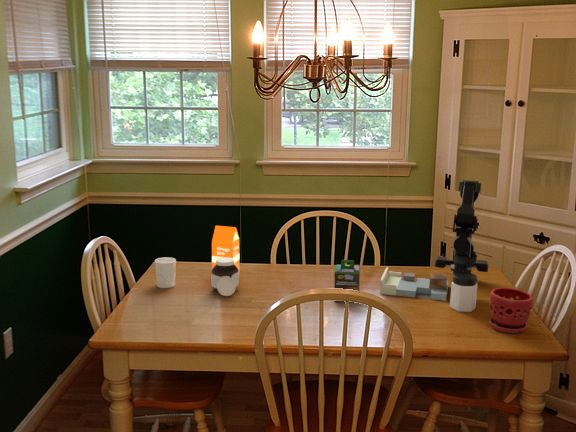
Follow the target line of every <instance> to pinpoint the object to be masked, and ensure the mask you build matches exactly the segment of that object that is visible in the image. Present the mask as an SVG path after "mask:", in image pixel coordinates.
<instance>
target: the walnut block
mask: <svg viewBox="0 0 576 432" xmlns="http://www.w3.org/2000/svg"><path fill="white" fill-rule="evenodd" d="M429 279H430V283H429V288H431V289H440V290H446V285H447V281H448V274H444V273H443V274H442V273H434V272H430V276H429Z"/></svg>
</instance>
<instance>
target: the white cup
mask: <svg viewBox="0 0 576 432" xmlns="http://www.w3.org/2000/svg"><path fill="white" fill-rule="evenodd" d="M154 268H155V269H154V270H155V279H156V286H157V287H158V288H159V289H171V288H174V287H175V286H176V273H177V269H176V268H177V259H176V258H174V257H171V256H170V257H169V256H168V257H167V256H166V257H158V258H156V259H155V260H154Z"/></svg>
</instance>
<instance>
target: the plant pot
mask: <svg viewBox="0 0 576 432" xmlns="http://www.w3.org/2000/svg"><path fill="white" fill-rule="evenodd" d="M533 302H534V296H533V295H532V294H530V293H529V292H527V291H524V290H521V289H517V288H511V287H497V288H493V289H492V290H491V292H490V296H489V310H490V311H489V312H490V315H491V317H490V318H489V324H490V326H491V327H492V328H494V329H495V330H497V331H499V332H504V333H507V334H516V333H517V334H518V333H522V332H524V331H525V330H526V329H527V324H526V322H527V321H528V319H529V317H530V315H531V311H532V308H533Z"/></svg>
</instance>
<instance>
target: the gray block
mask: <svg viewBox="0 0 576 432" xmlns="http://www.w3.org/2000/svg"><path fill="white" fill-rule="evenodd" d="M402 280H403V281H413V282H416V274H415V273H410V272H404V274H403V279H402Z"/></svg>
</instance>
